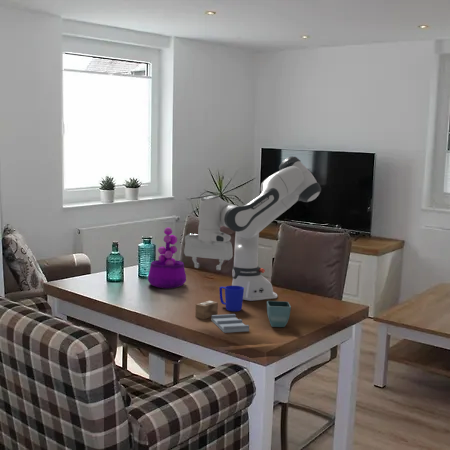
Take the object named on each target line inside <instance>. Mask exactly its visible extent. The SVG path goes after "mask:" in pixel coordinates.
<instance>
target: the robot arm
mask: <svg viewBox="0 0 450 450" xmlns="http://www.w3.org/2000/svg"><path fill="white" fill-rule="evenodd" d="M321 192H322V187H321V185H320V183H319V182H317V179H316V177H314V174H312V172H311V171H310V170H309V169H308V168H307V167H306V165H304V164H303V162H301V160H300V159H299V158H298V157H297V156H289V157H286V158H285V159H284V160H282V162H281V163H280V164H279V166H278V171H275V172H274V173H273V174H271V175H269V176H268V177H266V178H265V179H264V180H263V181H262V182H261V184H260V195H258V196H256V197H255V198H254V199H252V200H251V201H249V202H248V203H246V204H245V205H236V204H233V203H230V202H227V201H225V200H223V199H222V198H221V197H220V196H219V195H207V196H204V197H203V198H201V200H200V203H199V209H198V220H199V221H198V222H199V224H198V231H197V233H198V234H197V233H194V234H193V233H188V234H186V235H185V236H184V243H185V245H184V249H183V254H184V256H185V257H191V260H192V262H193V264H194V268H196V269H199V268H200V263H199V262H198V258H203V259H210V260H211V259H214V260H218V262H219V264H217V265H216V266H215V268H216V269H215V270H216V271H221V269H222V265H223V263H224V262H225V261H230V260H232V258H233V265H232V270H231V271H232V273H231V274H232V282H231V286H241V287H243V288H244V293H243V301H244V300H245V301H250V302H252V301H253V302H254V301H263V300H271V299H277V298H278V294H277V292H274V288H273V284H272V283H271V282H270V280H268V279H267V278H266V277H265V276H263V275H262V274H264V273H266V269H265V268H263V267H259V266H258V262H259V261H258V260H259V244H260V243H259V242H260V232H262V231H263V230H264V229H265V228H267V226H269V225H270V224H271V223H272V222H274V220H276V219H277V218H279V217H280V216H281V215H282V214H283V213H285V212H286V211H287V210H289V209H290V208H291V207H292V206H293V205H295V204H296V203H297V202H303V203H309V202H312V201H314V200H316V199H317V197H319V195H320V193H321ZM221 227H225V228H228V229H230V230H231V231H232V232H235V237H234V250H233V245H232V242H231V239H232V237H231V235H230V234H227V233H225V232H223V231H221ZM233 252H234V253H233ZM233 254H234V255H233Z"/></svg>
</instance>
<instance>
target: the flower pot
mask: <svg viewBox="0 0 450 450" xmlns="http://www.w3.org/2000/svg"><path fill="white" fill-rule="evenodd" d="M291 308H292V306H291V304H290V302H289V301H282V300H281V301H280V300H267V301H266V313H267V318H268V321H269V324H270V326H271V327H272V328H285V327H286V325H287V324H288V322H289V319H290V315H291V310H292V309H291Z"/></svg>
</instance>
